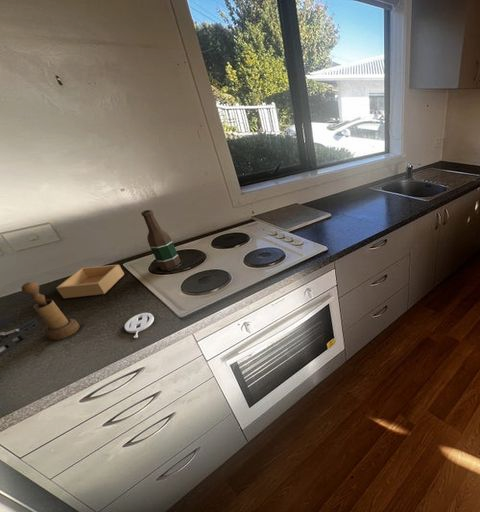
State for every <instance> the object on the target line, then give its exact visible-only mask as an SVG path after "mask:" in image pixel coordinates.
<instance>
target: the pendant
mask: <svg viewBox="0 0 480 512" xmlns="http://www.w3.org/2000/svg"><path fill="white" fill-rule="evenodd" d="M154 320H155V317H154V315H153V314H152V313H151V312H142V313H138V314H136V315H134V316H132V317H131V318H129V319H128V320H127V321H126V322H125V324H124V330H125V331H126V332H127V333H130V334H135V335H134V336H133V337H132V338H133V339H137V338H139V335H138V334H139V332H142V331H144V330H146V329H148V328H149V327H150V326H151V325H152V324H153V323H154Z"/></svg>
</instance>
